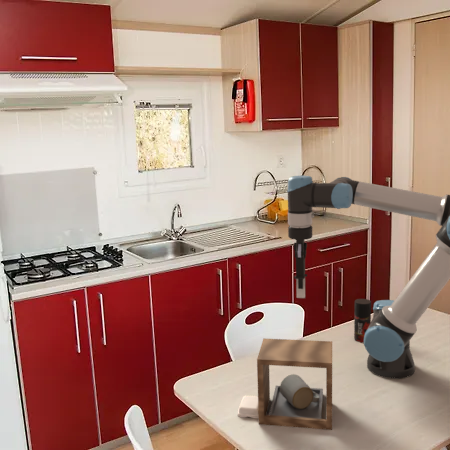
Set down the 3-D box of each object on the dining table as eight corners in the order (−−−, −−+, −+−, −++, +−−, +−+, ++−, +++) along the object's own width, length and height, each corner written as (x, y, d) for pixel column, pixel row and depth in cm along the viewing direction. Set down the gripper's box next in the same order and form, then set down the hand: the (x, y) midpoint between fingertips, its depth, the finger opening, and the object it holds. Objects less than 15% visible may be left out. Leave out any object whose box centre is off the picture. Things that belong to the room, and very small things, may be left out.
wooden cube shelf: (332, 403, 160) (332, 341, 156) (332, 430, 146) (332, 363, 142) (264, 398, 164) (263, 338, 160) (258, 424, 150) (257, 359, 146)
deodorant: (354, 342, 201) (354, 303, 198) (354, 335, 207) (354, 298, 204) (370, 342, 200) (371, 304, 197) (370, 336, 206) (370, 299, 203)
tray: (322, 394, 165) (322, 388, 165) (321, 425, 149) (321, 419, 148) (275, 390, 168) (275, 385, 168) (269, 420, 152) (268, 415, 151)
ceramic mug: (293, 413, 153) (293, 388, 152) (279, 400, 161) (279, 376, 159) (324, 405, 157) (325, 381, 156) (310, 392, 165) (310, 369, 163)
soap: (241, 401, 163) (241, 392, 162) (264, 403, 162) (264, 394, 161) (236, 417, 154) (236, 408, 154) (259, 419, 153) (259, 410, 152)
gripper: (311, 229, 162) (311, 304, 167) (313, 221, 174) (313, 291, 179) (286, 229, 163) (287, 303, 168) (289, 221, 176) (290, 290, 181)
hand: (300, 297), depth 174 cm, fingers closed
